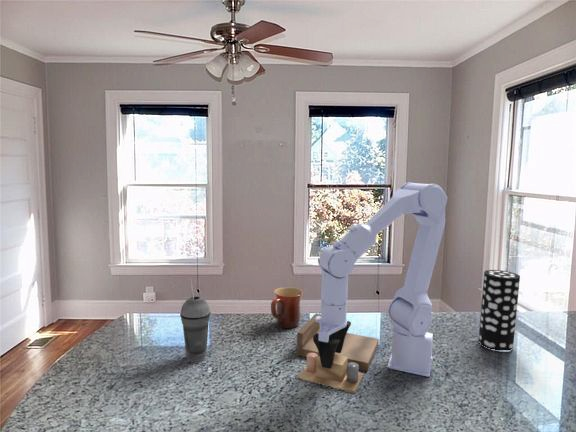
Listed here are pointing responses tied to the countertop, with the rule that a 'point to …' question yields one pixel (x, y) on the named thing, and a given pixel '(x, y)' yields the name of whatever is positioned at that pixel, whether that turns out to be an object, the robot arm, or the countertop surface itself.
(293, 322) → the mug
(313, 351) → the light wood stepped block
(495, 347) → the spotted tube
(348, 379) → the wooden stand
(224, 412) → the countertop surface
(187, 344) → the beverage cup
